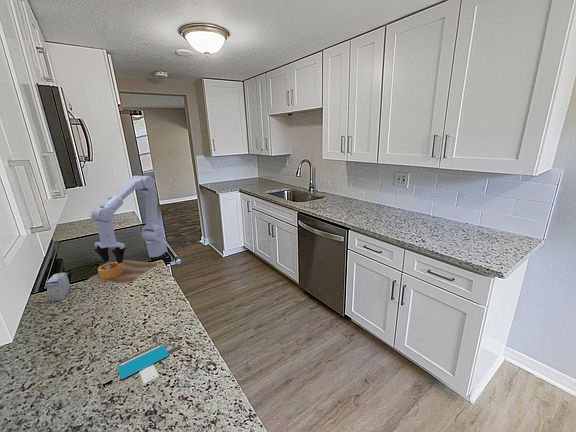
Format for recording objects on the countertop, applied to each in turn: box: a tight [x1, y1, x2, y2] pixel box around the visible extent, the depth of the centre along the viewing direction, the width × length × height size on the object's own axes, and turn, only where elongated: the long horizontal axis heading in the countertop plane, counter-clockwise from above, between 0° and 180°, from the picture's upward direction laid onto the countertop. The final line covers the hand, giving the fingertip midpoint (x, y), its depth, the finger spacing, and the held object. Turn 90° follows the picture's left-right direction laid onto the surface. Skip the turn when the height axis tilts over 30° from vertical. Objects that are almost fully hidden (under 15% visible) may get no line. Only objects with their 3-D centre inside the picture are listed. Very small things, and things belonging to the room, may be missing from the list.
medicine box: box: [45, 272, 72, 302], centre depth 109 cm, size 8×4×9 cm, turn 21°
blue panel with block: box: [117, 343, 182, 385], centre depth 74 cm, size 20×12×2 cm, turn 130°
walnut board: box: [87, 259, 160, 284], centre depth 127 cm, size 20×22×2 cm
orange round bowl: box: [97, 261, 123, 279], centre depth 123 cm, size 9×9×4 cm
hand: (113, 262), depth 121 cm, fingers open, 7 cm apart
